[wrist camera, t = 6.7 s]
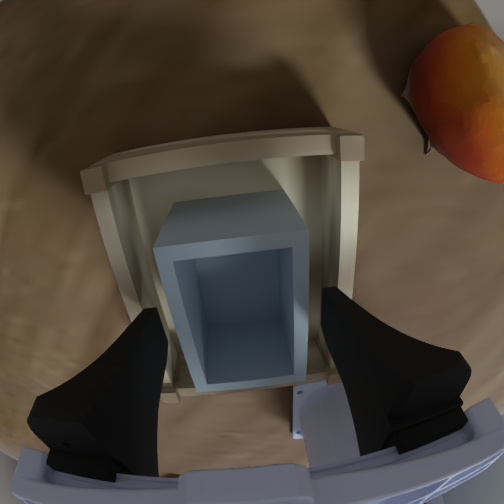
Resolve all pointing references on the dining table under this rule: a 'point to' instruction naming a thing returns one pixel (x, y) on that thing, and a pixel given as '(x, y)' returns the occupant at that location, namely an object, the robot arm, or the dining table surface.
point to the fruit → (462, 98)
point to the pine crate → (224, 184)
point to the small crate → (238, 288)
